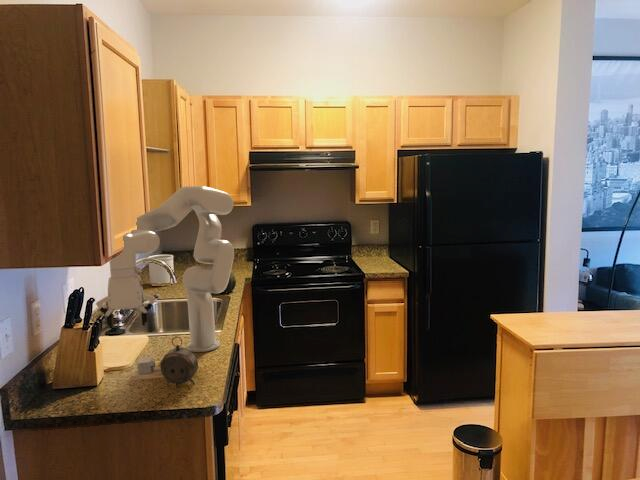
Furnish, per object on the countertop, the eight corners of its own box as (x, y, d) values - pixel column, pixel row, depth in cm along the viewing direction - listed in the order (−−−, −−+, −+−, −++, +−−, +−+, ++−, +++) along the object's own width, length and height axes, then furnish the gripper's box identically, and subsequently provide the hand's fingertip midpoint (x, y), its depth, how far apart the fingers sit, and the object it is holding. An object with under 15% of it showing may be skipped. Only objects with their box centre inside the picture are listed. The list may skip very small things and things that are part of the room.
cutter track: (135, 373, 157) (134, 361, 156) (186, 368, 160) (185, 356, 159) (132, 380, 152) (131, 367, 151) (184, 374, 155) (183, 362, 154)
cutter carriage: (141, 368, 157) (140, 357, 156) (155, 366, 158) (154, 356, 157) (138, 374, 152) (137, 363, 151) (152, 372, 153) (152, 361, 152)
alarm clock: (199, 382, 149) (196, 334, 146) (193, 390, 143) (189, 340, 141) (167, 381, 150) (163, 333, 148) (159, 389, 145) (155, 339, 142)
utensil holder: (161, 280, 295) (159, 253, 292) (180, 282, 289) (178, 254, 286) (144, 286, 281) (142, 257, 279) (163, 288, 276) (161, 259, 273)
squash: (224, 287, 250) (231, 263, 258) (200, 286, 256) (208, 263, 263) (235, 299, 261) (242, 275, 269) (213, 298, 267) (220, 275, 274)
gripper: (154, 268, 150) (158, 319, 152) (96, 272, 146) (101, 324, 149) (151, 273, 143) (155, 327, 145) (90, 277, 139) (95, 332, 142)
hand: (128, 325), depth 147 cm, fingers open, 9 cm apart
